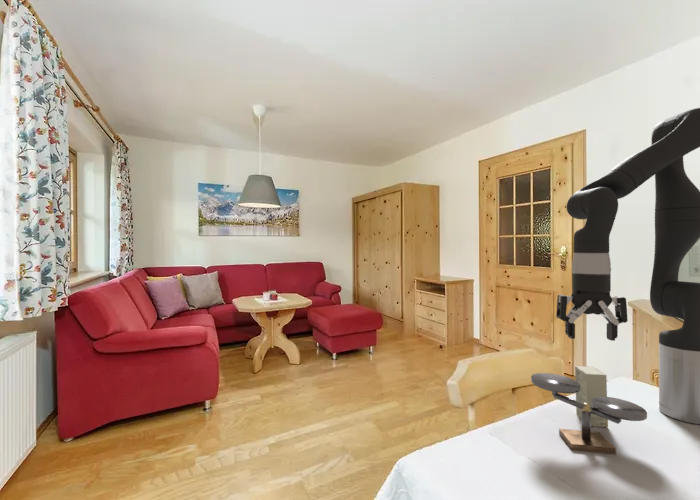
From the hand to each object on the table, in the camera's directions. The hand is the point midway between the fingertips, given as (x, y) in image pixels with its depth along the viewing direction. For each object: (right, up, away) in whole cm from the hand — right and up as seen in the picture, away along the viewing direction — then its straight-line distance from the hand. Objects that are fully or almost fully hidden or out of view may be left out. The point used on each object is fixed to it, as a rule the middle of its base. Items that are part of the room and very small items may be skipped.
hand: (590, 338), depth 80 cm
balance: (-8, -20, -10) cm, 23 cm away
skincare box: (0, -20, 0) cm, 20 cm away
